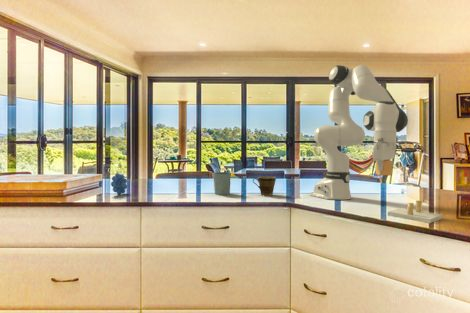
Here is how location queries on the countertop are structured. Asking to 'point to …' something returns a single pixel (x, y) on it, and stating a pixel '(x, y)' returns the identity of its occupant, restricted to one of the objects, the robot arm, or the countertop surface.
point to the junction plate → (415, 213)
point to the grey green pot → (222, 183)
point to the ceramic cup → (266, 185)
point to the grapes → (119, 183)
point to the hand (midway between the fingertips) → (383, 170)
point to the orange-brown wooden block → (385, 168)
